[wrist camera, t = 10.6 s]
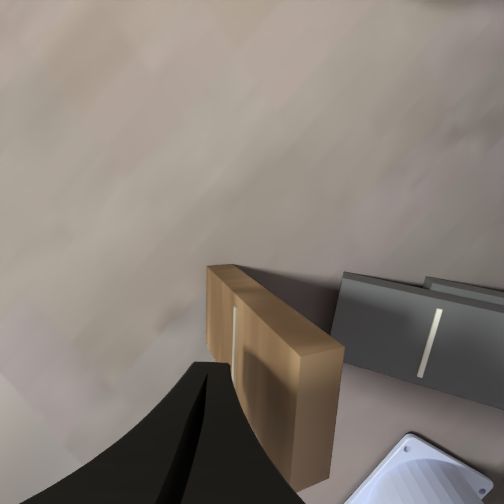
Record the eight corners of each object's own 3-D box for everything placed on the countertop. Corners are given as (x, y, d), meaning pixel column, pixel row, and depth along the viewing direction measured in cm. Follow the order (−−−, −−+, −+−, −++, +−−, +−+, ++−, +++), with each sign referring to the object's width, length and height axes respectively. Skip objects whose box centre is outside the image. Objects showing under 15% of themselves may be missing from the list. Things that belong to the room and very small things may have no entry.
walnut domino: (204, 343, 18) (285, 497, 10) (204, 266, 17) (297, 357, 8) (232, 338, 19) (332, 476, 10) (234, 264, 18) (347, 345, 9)
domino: (325, 357, 18) (526, 417, 15) (342, 278, 17) (563, 326, 14) (327, 343, 19) (508, 395, 17) (343, 271, 18) (539, 312, 16)
